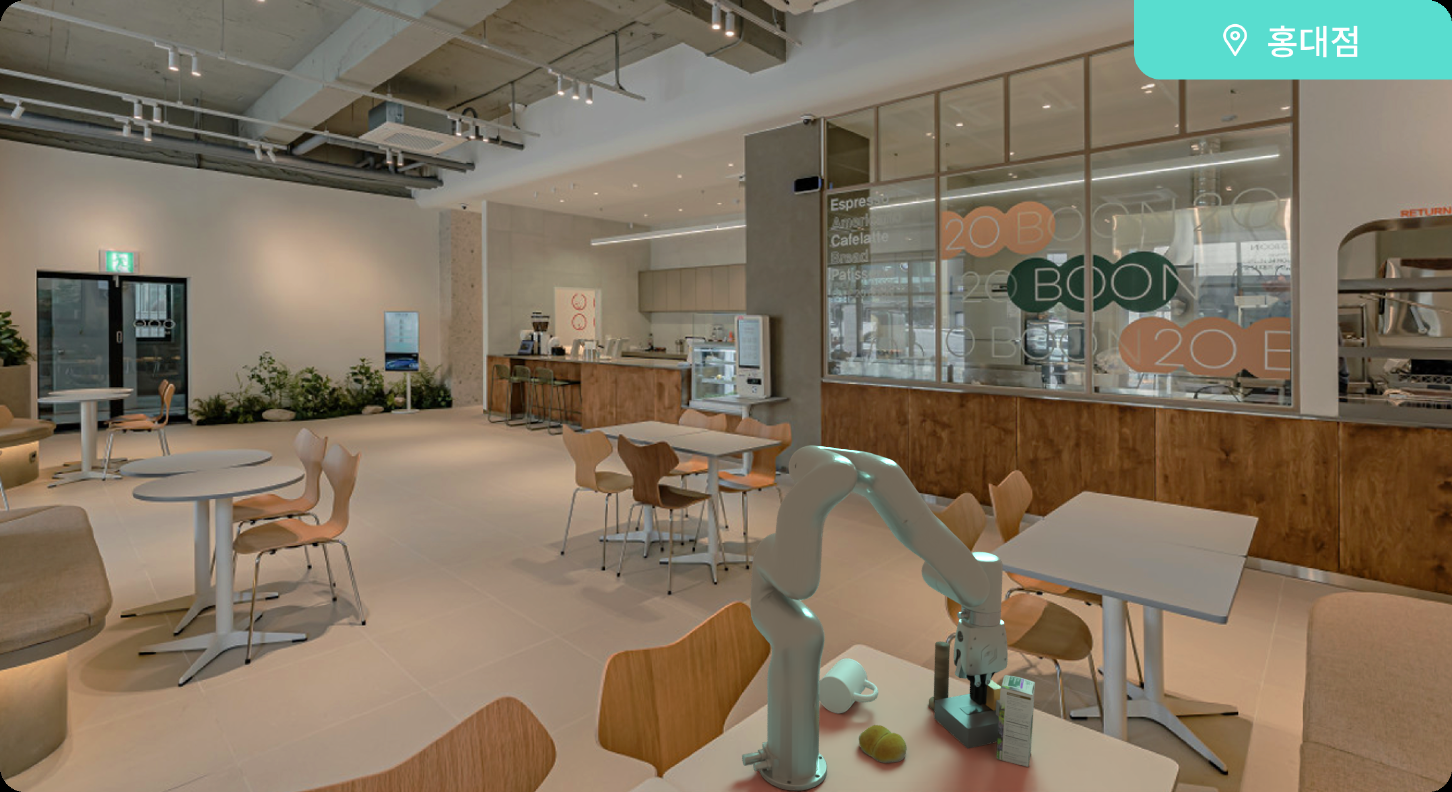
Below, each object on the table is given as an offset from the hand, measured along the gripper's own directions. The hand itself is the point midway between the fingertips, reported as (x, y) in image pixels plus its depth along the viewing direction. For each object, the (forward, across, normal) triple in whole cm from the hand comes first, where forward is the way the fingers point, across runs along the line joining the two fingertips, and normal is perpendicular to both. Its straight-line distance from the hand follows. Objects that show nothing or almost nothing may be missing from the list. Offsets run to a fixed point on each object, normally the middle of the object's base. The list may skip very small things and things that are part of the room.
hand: (977, 700), depth 141 cm
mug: (+6, -21, +16) cm, 27 cm away
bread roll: (+6, -22, -1) cm, 23 cm away
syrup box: (+6, +1, -10) cm, 12 cm away
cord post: (+6, -2, +9) cm, 11 cm away
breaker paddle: (+1, +3, 0) cm, 4 cm away
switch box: (+6, +1, 0) cm, 6 cm away
